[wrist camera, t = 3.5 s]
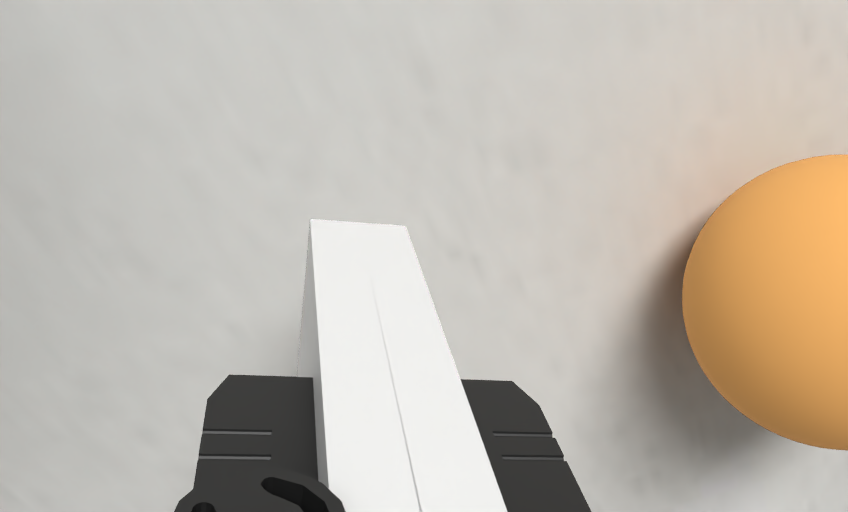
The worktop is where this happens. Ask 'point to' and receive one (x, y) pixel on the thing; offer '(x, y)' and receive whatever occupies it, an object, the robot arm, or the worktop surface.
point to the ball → (777, 300)
